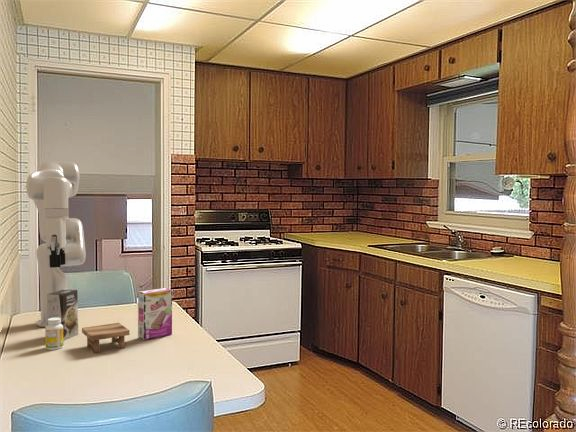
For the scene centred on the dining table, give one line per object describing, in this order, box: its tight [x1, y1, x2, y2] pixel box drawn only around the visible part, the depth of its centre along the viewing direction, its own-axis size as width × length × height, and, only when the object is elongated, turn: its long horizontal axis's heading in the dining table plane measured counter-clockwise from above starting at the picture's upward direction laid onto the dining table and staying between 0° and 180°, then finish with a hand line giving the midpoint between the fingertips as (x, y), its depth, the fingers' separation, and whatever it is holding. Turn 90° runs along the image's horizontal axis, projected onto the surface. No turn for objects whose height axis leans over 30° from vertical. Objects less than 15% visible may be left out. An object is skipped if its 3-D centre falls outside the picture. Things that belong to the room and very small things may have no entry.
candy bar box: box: [137, 287, 173, 341], centre depth 184 cm, size 11×5×16 cm, turn 134°
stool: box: [81, 322, 131, 354], centre depth 172 cm, size 12×12×6 cm
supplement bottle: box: [44, 317, 64, 351], centre depth 171 cm, size 5×5×10 cm
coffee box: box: [47, 289, 79, 342], centre depth 184 cm, size 9×6×16 cm
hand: (57, 265), depth 173 cm, fingers open, 9 cm apart
